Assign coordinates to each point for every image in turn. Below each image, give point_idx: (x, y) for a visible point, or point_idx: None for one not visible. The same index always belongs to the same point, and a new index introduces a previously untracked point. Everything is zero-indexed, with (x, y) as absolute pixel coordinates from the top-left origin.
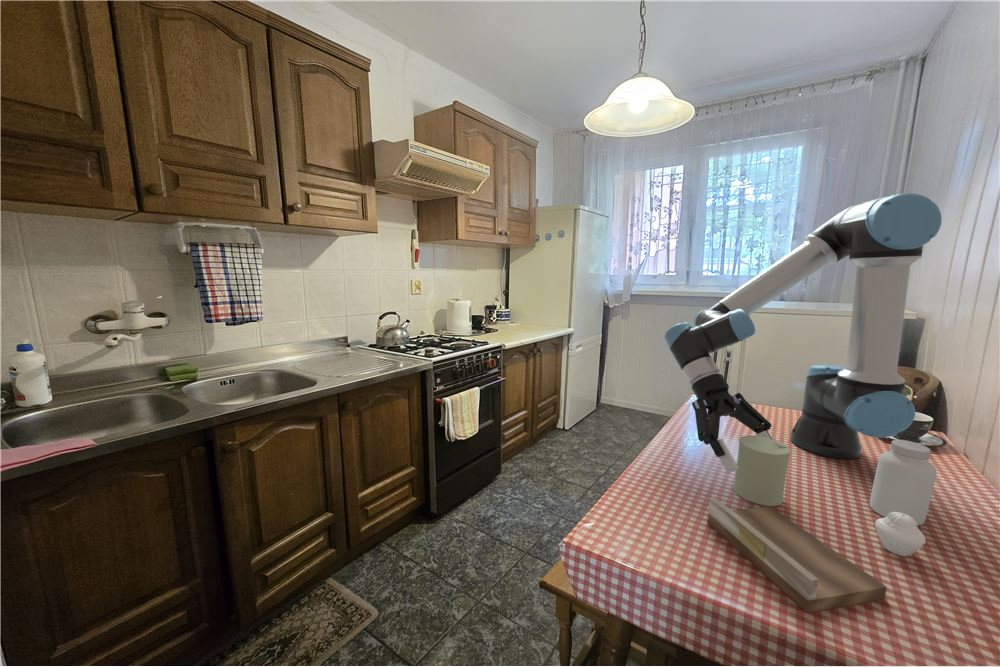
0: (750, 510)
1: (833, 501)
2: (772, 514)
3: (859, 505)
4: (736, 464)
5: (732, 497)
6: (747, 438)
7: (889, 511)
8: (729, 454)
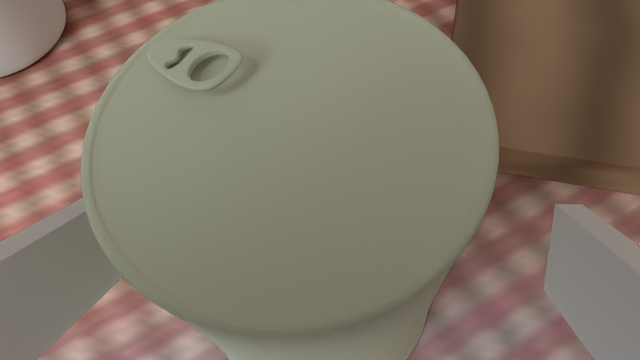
0: (563, 145)
1: (81, 134)
2: None
3: (33, 91)
4: (568, 214)
5: (477, 309)
6: (296, 273)
7: (53, 2)
8: (626, 245)
